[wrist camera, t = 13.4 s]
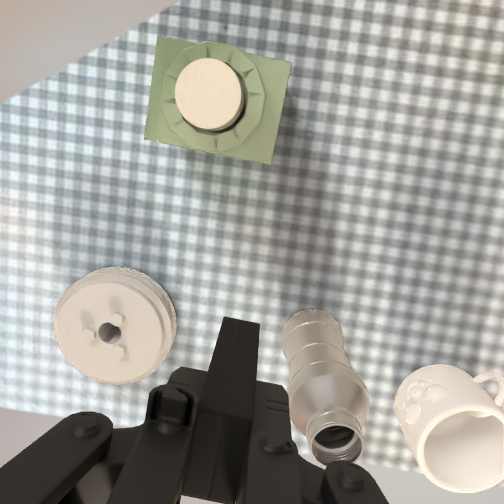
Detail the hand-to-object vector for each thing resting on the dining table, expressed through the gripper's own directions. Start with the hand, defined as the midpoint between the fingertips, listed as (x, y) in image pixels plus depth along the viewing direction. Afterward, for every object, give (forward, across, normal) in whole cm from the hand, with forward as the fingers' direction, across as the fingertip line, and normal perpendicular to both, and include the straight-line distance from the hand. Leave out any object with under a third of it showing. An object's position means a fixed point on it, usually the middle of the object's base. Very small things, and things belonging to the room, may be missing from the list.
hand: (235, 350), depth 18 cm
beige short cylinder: (+16, +5, -11) cm, 20 cm away
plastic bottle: (+30, -8, +10) cm, 32 cm away
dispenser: (+29, +5, -11) cm, 32 cm away
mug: (+30, -24, +14) cm, 41 cm away
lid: (+30, +13, +13) cm, 35 cm away
